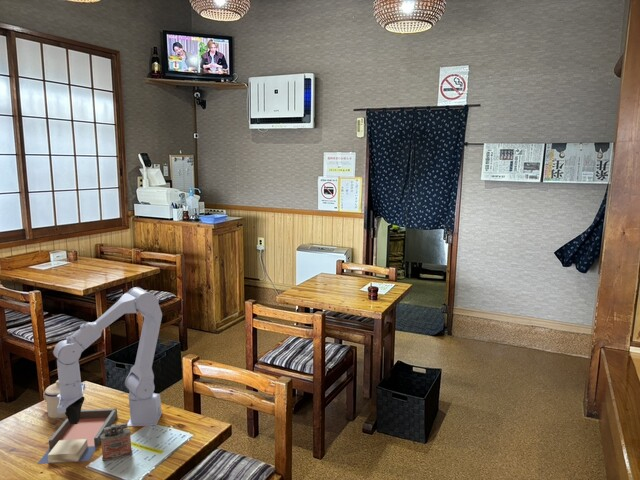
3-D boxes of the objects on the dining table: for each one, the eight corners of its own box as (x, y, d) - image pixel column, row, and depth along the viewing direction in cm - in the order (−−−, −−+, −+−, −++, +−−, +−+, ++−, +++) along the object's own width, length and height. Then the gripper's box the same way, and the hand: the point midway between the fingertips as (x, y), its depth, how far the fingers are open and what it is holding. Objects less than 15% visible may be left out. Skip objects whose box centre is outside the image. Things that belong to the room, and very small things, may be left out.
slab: (87, 446, 142) (87, 438, 142) (77, 461, 135) (77, 453, 135) (60, 447, 141) (59, 440, 141) (48, 462, 135) (47, 454, 134)
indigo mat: (98, 447, 142) (97, 446, 142) (88, 462, 135) (88, 461, 135) (49, 449, 141) (49, 448, 141) (37, 464, 134) (37, 463, 134)
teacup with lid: (83, 408, 165) (80, 376, 163) (61, 421, 156) (58, 388, 154) (56, 402, 169) (53, 371, 167) (34, 415, 160) (30, 383, 158)
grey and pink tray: (117, 416, 159) (116, 408, 159) (98, 447, 142) (97, 438, 142) (74, 418, 158) (73, 410, 158) (49, 449, 141) (48, 440, 141)
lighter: (102, 463, 135) (99, 431, 133) (102, 457, 138) (99, 425, 136) (132, 456, 138) (130, 425, 136) (132, 450, 141) (129, 419, 139)
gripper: (66, 370, 147) (71, 410, 149) (43, 393, 133) (49, 437, 135) (90, 369, 147) (94, 409, 150) (69, 392, 133) (74, 436, 136)
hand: (74, 423), depth 142 cm, fingers closed
